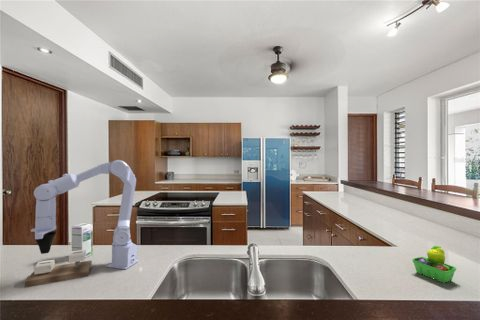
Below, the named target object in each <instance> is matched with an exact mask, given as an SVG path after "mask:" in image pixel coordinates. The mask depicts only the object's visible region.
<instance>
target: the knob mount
mask: <svg viewBox="0 0 480 320" xmlns="http://www.w3.org/2000/svg"><path fill="white" fill-rule="evenodd" d="M92 265H93V263H92V260H84V261H78V262H72V263H65V264H60V265H59V264H58V265H55V267H54V268H53V269H52V271H51V272H47V273H41V274H35V275H34V271H32V272H31V273H30V275H29V276H28V278H26V280H25V281H24V288H29V287H35V286H40V285H46V284H51V283H55V282H62V281H68V280H71V279H72V280H73V279H79V278H83V277H88V276H89V274H90V270H91V268H92Z"/></svg>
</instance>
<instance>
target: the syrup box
mask: <svg viewBox="0 0 480 320" xmlns="http://www.w3.org/2000/svg"><path fill="white" fill-rule="evenodd" d="M93 229H94V228H93V223H89V222H86V223H85V222H84V223H83V222H82V223H80V224H75V225H73V226H71V252H72V251H79V250H86V257H85V258H87V257H90V256H92V255H94V254H93V253H94V250H93V249H94V247H93V246H94V245H93V244H94V241H93V239H94V236H93V235H94V234H93V233H94V231H93Z"/></svg>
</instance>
